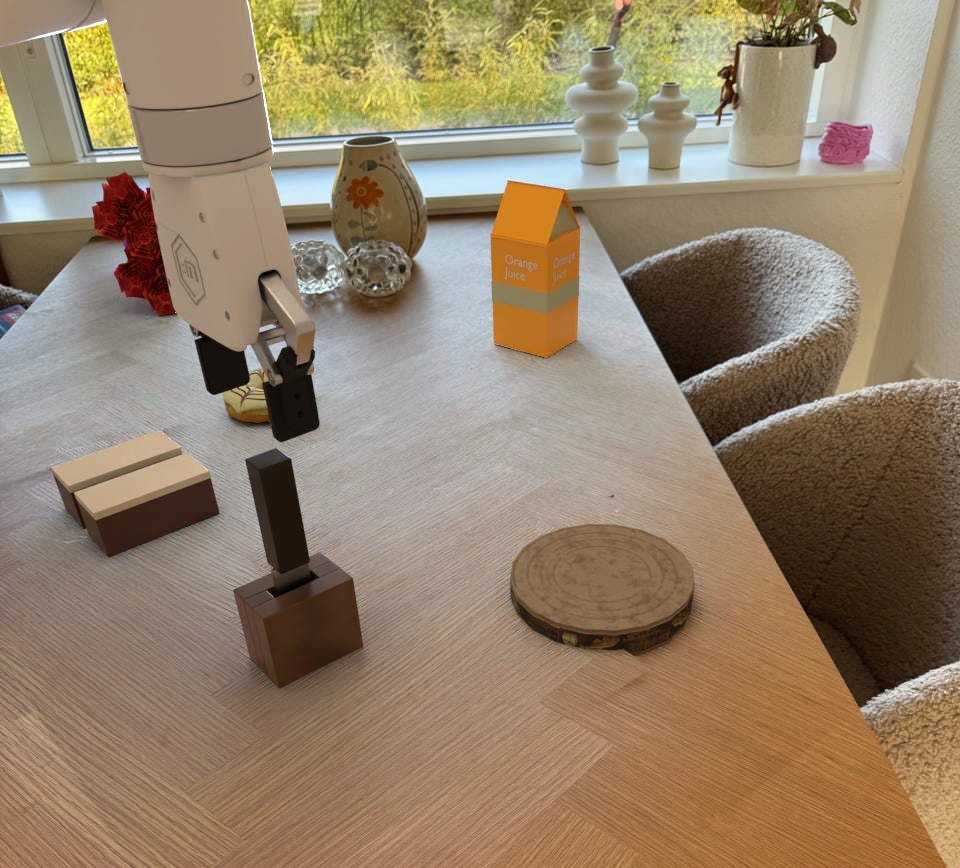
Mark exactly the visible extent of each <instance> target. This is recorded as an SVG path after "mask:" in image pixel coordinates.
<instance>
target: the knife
mask: <svg viewBox="0 0 960 868" xmlns="http://www.w3.org/2000/svg"><path fill="white" fill-rule="evenodd" d="M244 461H245V466H246V471H247V475H248V480H249V484H250V489H251V494H252V498H253V503H254V507H255V513H256V517H257V521H258V525H259V529H260V534H261V539H262V544H263V548H264V553H265V558H266V562H267V564H269V566H271V567H272V568H270V573H272V577H273V582H274V587H275V591H276V596H277V597H279V596H281V595H283V594H285V593H287V592H290V591H292V590H294V589H296V588H299V587H301V586H303V585H305V584H308V583H310V582H312V581H311V576H310V571H309V565H308V563H309V562H310V558H309V556H310V552H309V549H308V548H309V547H308V543H307V536H306V532H305V526H304V521H303V515H302V509H301V505H300V499H299V494H298V488H297V483H296V476H295V472H294V465H293V461H292V458H291V457H290V456H289V455H287V454H286V453H285V452H284V451H282V450H281V449H279V448H278V447H274V448H272V449H269V450H266V451H263V452H261V453H258V454H255V455H252V456H250V457H247V458H244Z"/></svg>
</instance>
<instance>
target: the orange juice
mask: <svg viewBox="0 0 960 868" xmlns="http://www.w3.org/2000/svg"><path fill="white" fill-rule="evenodd" d="M506 181H507V182H506V185H505V188H504V191H503V195H502V198H501V201H500V204H499V208H498V210H497V213H496V217H495V220H494V223H493V227H492V229H491V233H490V235H489V236H490V267H491V268H490V269H491V281H490V283H491V285H490V286H491V301H492V302H491V303H492V331H493V332H492V333H493V336H492V337H493V344H494V343H495V344H499V345H503V346H507V347H509V348H513V349H516V350H519V351H518V352H520V351H523V352H522V353H524V352H527V353H531V354H533V355H532V356H535V355H537V356H536V357H539V356H541V357H540V358H543V357H544V358H543V359H548V358H550V357H552V356H553V355H555V354H556V353H558V352H559V351H561V350H562V348H563V349H564V348H566V347H568V346H569V345H571V344H572V343H575V342H576V341H577V340H578V331H579V330H578V323H579V296H580V258H581V257H580V256H581V255H580V252H581V251H580V250H581V226H580V224H579V221H578V219H577V216H576V214H575V212H574V211H575V210H574V208H573V207H572V204H571V202H570V199H569V197H568V195H567V192H566V191H567V190H566V189H565V188H560V187H554V186H549V185H548V186H546V185H541V184H535V183H528V182H521V181H514V180H509V179H507V180H506ZM576 339H577V340H576ZM575 340H576V341H575ZM570 343H571V344H570ZM567 345H568V346H567ZM565 346H566V347H565ZM560 349H561V350H560ZM516 350H515V351H516ZM557 351H558V352H557ZM527 353H526V354H527ZM554 353H555V354H554ZM531 354H530V355H531ZM549 356H550V357H549Z"/></svg>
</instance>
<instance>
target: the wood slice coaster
mask: <svg viewBox="0 0 960 868" xmlns="http://www.w3.org/2000/svg"><path fill="white" fill-rule="evenodd" d="M510 570H511V571H510V577H509V588H510V591H509V592H510V593H509V594H510V600H511V603H512V606H513V607H514V610H515V612H516V615H517V616H518V617H519V618H520V619H521V621H523V622H524V623H525V625H527V626H528V628H530V629H531V630H532V631H533V632H535V633H538V634H539V635H541V636H544V637H545V638H547V639H549V640H551V641H553V642H555V643H558V644H562V645H566V646H570V647H573V648H578V649H582V650H598V651H619V650H624V651H625V652H627V653H628V654H630V655H631V656H633V657H634V656H639V655H645V654H646V653H650V652H651V651H653V650H656V649H658V648H661V647H663V646H666V645H667V644H669V643H670V642H671V641H672V640H674V638H676V637H677V636H678V635H679V634H680V633H681V632H683V631H684V629H685V627H686V625H687V623H688V621H689V618H690V616H691V613H692V609H693V601H694V593H695V585H696V584H695V576H694V567H693V566H692V564H691V563H690V561H689V560H688V559H687V557H686V556H685V554H684V552H683V551H682V550H680V549H679V548H677V546H675V545H673V544H672V543H671V542H669V541H668V540H667V539H665V538H663V537H660V536H658V535H655V534H653V533H651V532H648V531H645V530H644V529H639V528H635V527H630V526H624V525H620V524H605V523H585V524H579V525H574V526H566V527H561V528H558V529H556V530H553V531H551V532H547V533H544V534H542V535H539V536H538V537H537V538H535V539H534V540H532V541H531V542H529V543H527V545H525V546H523V547H522V549H521V550H520V552H518V554H517V555H516V557H515V559H513V561H512V563H511V569H510Z"/></svg>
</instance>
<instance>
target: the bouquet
mask: <svg viewBox="0 0 960 868" xmlns="http://www.w3.org/2000/svg"><path fill="white" fill-rule="evenodd" d="M105 181H106V182H107V183H104V182H102V183H101V188H102V200H100V201H99V200H98V201H95V204H96V205H92V206H91V211H92V216H93V229H94V230H98V231H97V235H98V236H101V237H105V238H109V239H112V240H114V241H116V242H120V241H121V242H122V243H123V244H122V245H123V247H124V249H123V252H124V254H125V257H126V259H127V260H126V261H125V262H123V263H119V264H118V265H117V267H116V268H115V270H114V271H113V276H114V277H115V279H116V281H117V283H118V286H119V289H120V293H124V294H125V298H126V299H130V298H136V299H141V300H146V301H147V302H148V303H149V306H150V308H151V310H152V312H153V313H154V312H155V313H156V314H157V316H158V315H161V316H163V315H172V314H171V313H175V312H176V311H175V309H174V307H173V303H172V299H171V295H170V291H169V286H168V282H167V277H166V272H165V267H164V263H163V258H162V253H161V248H160V243H159V238H158V233H157V228H156V223H155V218H154V212H153V206H152V199H151V192H150V186H149V187H145V191H144V190H143V189H142V188H141V187H140V186H139V185H138V184H137V182H136V181H135V179H134V178H133V176H132V175H129V174H128V172H126V171H123V172H121V173H120V174H118V175H114V176H110V177H107V178H105Z"/></svg>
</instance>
